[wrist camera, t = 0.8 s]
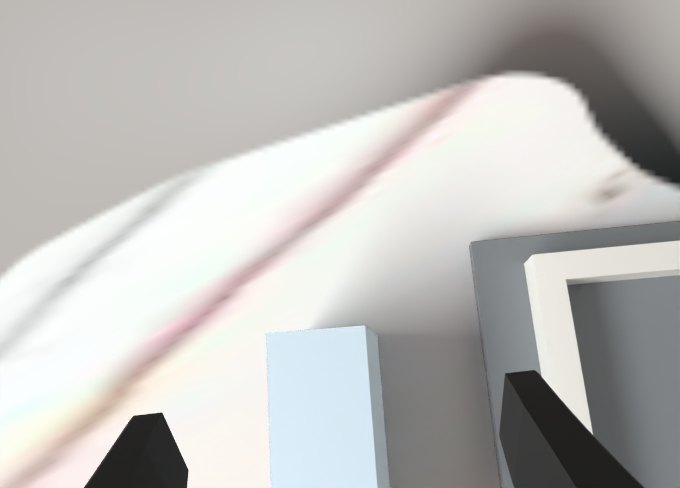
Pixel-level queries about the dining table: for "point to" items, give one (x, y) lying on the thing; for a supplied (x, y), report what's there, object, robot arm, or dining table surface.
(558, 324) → the cradle jig
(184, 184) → the dining table surface
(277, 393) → the block
